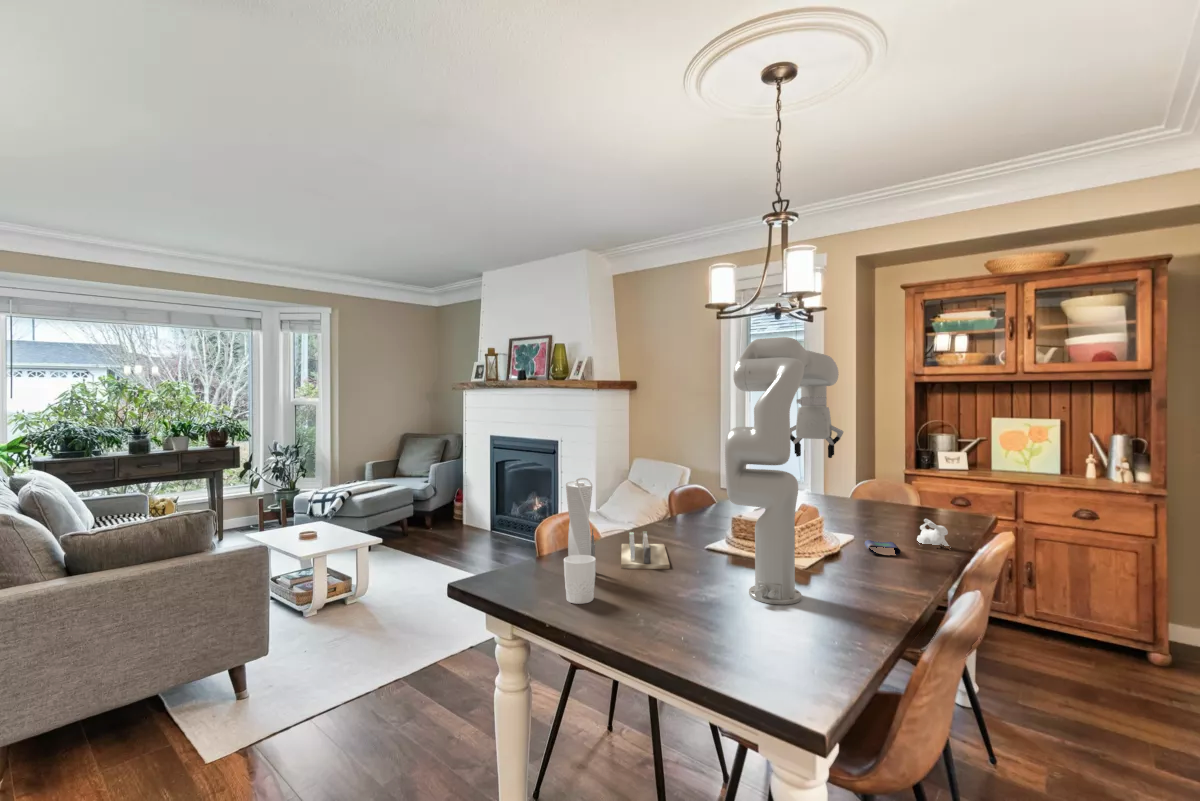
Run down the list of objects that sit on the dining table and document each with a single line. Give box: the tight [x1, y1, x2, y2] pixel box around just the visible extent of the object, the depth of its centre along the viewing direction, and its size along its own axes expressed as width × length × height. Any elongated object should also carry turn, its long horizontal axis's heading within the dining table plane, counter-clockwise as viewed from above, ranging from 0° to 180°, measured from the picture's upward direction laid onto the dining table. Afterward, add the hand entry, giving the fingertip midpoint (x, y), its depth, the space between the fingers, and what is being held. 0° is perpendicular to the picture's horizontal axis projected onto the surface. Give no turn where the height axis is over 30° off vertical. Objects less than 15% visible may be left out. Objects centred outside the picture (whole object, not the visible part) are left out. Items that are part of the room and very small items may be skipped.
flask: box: [864, 539, 902, 556], centre depth 184 cm, size 9×3×11 cm
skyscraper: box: [565, 477, 597, 580], centre depth 160 cm, size 8×8×28 cm
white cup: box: [563, 555, 597, 605], centre depth 142 cm, size 8×8×10 cm
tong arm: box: [628, 531, 636, 561], centre depth 179 cm, size 1×18×4 cm, turn 178°
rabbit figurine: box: [916, 518, 950, 547], centre depth 190 cm, size 12×8×10 cm, turn 21°
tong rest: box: [620, 530, 671, 570], centre depth 179 cm, size 14×24×6 cm, turn 178°
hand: (814, 456), depth 182 cm, fingers open, 9 cm apart
